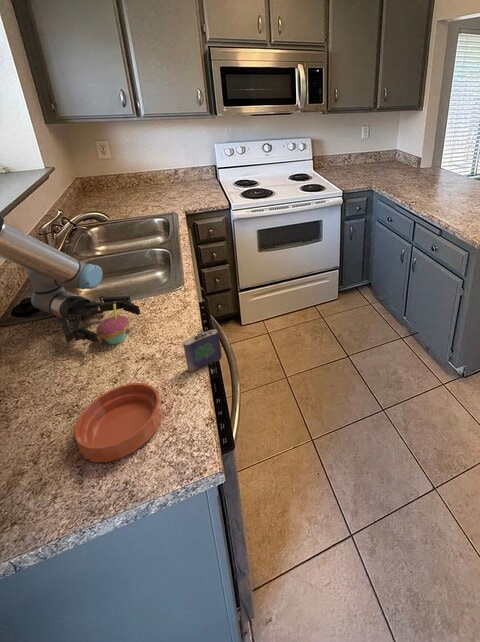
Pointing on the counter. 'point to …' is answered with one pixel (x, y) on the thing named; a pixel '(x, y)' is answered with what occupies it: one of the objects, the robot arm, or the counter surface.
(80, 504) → the counter surface
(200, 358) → the flask
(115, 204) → the counter surface
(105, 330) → the cupcake
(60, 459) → the counter surface
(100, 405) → the bowl
